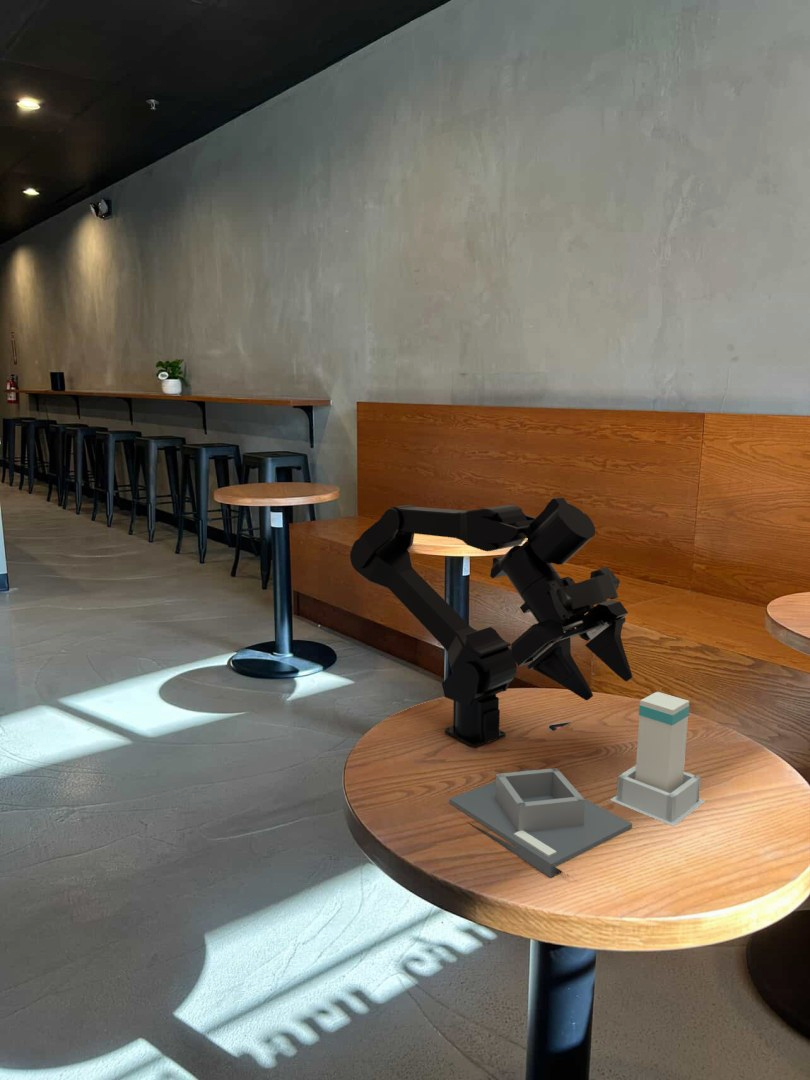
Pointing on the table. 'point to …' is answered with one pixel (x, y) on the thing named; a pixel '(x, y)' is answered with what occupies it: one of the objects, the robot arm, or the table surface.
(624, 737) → the table surface
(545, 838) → the port panel
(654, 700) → the plug
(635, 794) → the holster
